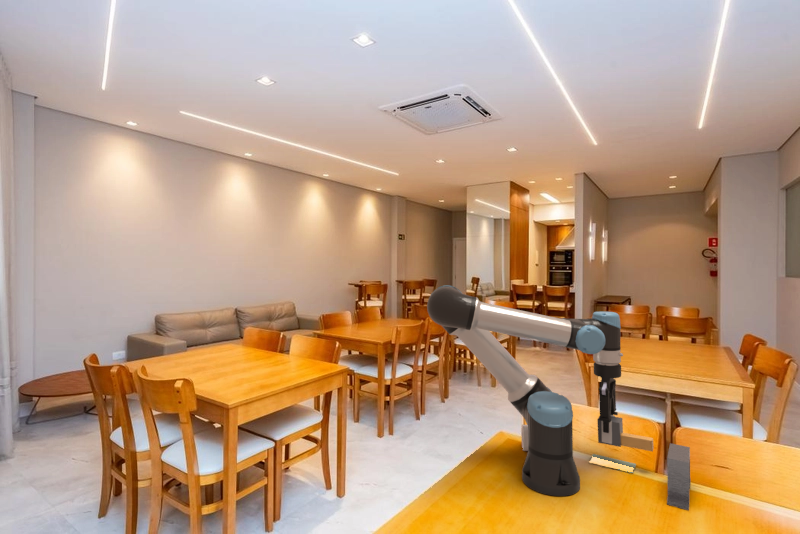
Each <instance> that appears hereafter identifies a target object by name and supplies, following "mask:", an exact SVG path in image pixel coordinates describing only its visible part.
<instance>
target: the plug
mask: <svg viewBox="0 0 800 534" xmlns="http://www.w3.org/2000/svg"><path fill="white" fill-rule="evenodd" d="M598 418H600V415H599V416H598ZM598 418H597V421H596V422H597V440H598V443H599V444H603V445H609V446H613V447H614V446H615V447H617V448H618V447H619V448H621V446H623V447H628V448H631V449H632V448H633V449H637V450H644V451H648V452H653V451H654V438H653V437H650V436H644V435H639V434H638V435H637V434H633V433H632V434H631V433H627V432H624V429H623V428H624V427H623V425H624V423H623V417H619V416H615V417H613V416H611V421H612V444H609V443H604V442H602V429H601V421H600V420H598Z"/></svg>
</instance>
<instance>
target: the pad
mask: <svg viewBox="0 0 800 534" xmlns="http://www.w3.org/2000/svg"><path fill="white" fill-rule="evenodd" d="M591 456H593V457H597V458H600V459H604V460H608V461H612V462H614V463H618V464H622V465H626V466H629V467H633V468H635V469H636V466H637V463H634V462H629V461H626V460H620V459H618V458H613V457H608V456H604V455H600V454H597V453H592V454H591ZM618 470H620V469H618ZM618 470H617V471H618ZM627 472H628V471H627ZM630 473H633V474H634V472H630ZM630 473H629V474H630Z"/></svg>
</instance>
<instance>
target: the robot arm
mask: <svg viewBox="0 0 800 534" xmlns="http://www.w3.org/2000/svg"><path fill="white" fill-rule="evenodd" d="M426 308H427V313H428V316H429V317H430V319H431V320H432V321H433V322H434V323H435V324H437V325H439V326H441V327H442V328H443V329H444V330H445V331H446V332H447V333H448V334H449V335H450V336H456V337H458V339H459V340H461V342H462V343H463V344H464V345H465V347H466V348H467V349H469V351H470V352H471V353H472V354H473V355H474V357H476V358H477V360H478V361H479V362H480V363H481V364H482V365H483V366H484V367H485V369H486V370H487V371H488V373H490V374H491V375H492V376H493V377H494V378H495V380H496V381H497V382H498V383H499V384H500V385H501V386H502V388H503V389H505V391H506V392H507V400H508V401H509V402H510V404H511V405H512V406H513V407H514V408H515V409H516V410H517V412H518V413H519V414H520V415H521V417H523V419H524V421H525V423H526V425H528V451H527V453H526V456H525V460H524V463H523V466H522V469H521V477H522V478H521V479H522V482H523V483H524V484H525V485H526V486H527V488H530V489H531V490H533V491H535V492H537V493H539V494H540V493H541V494H543V495H547V496H554V497H566V496H567V497H568V496H571V495H574V494H576V493H578V492H579V491H580V489H581V478H580V475H579V471H578V469H577V465H576V463H575V460H574V454H573V453H574V450H573V449H574V448H573V445H574V444H573V443H574V442H573V439H574V438H573V417H574V412H573V406H572V405H573V404H572V403H571V401H570V400H569V399H568V398H567V397H566V396H564V395H563V394H559V393H557V392H553V390H552V389H550V388H549V387H548V386H547V385H545V383H544V382H543V381H542V380H541V379H540V378H539V377H538V376H537V375H535V374H529V373H528V372H527V371H526V370H525V369H524V368H523V367H522V365H521V364H520V363H519V362H518V361H517V359H516V358H514V357H513V355H511V353H510V352H509V351H508V350H507V349H506V348H505V346H503V345H502V343H500V341H499V340H498V339H497V338H496V336H494V334H492V333H493V332H494V333H496V334H497V333H499V334H503V335H507V336H512V337H516V338H521V339H522V338H523V339H527V340H531V341H536V342H540V343H545V344H550V345H554V346H559V347H560V346H561V347H565V348H567V349H572V350H577V351H580V352H581V353H583V354H588V355H592V358H593V359H592V360H593V362H594V363H593V374H594V375H595V376H596V377H600V378H601V380H600V382H599V385H598V386H599V387H598V394H599V395H598V396H599V416H600V418H599V417H598V418H597V419H598V420H600V421H601V429H602V442H604V443H609V444H612V421H611V416H613V417H616V416H618V415H619V412H617V402H616V401H617V399H616V398H617V397H616V392H617V391H616V387H617V386H616V385H617V384H616V382H617V380H616V379H618V378H621V377H622V365H621V364H620V363H621V362H622V358H621V357H623V356H624V354H623V352H621V350H622V349H621V329H622V327H621V318H620V317H621V316H620V314H618V313H617V312H615V311H614V312H613V311H594V312H593V313H592V316H591V318H558V317H554V316H548V315H544V314H539V313H536V312H530V311H525V310H522V309H521V310H520V309H515V308H512V307H506V306H503V305H497V304H493V303H492V304H491V303H489V302H488V303H486V302H483V301H480V300H479V298H478V297H476V296H471V295H468V294H465V293H462V291H461V290H460V289H458V288H457V287H455V286H453V285H442V286H439V287H437V288H436V289H433V291H432V292H431V294H430V296H429V297H428V300H427V304H426Z"/></svg>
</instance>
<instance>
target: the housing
mask: <svg viewBox="0 0 800 534" xmlns="http://www.w3.org/2000/svg"><path fill="white" fill-rule="evenodd" d="M690 449H691V447H690V446H685V445H680V444H677V443H676V444H675V443H671V442H670V443H669V448H668V451H667V458H666V459H667V463H666V464H667V465H666V466H667V473H666V474H667V498H666V505H668V506H672V507H674V508H675V507H676V508H679V509H682V510H686V511H689V510H690V490H691V482H692V481H691V451H690Z"/></svg>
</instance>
